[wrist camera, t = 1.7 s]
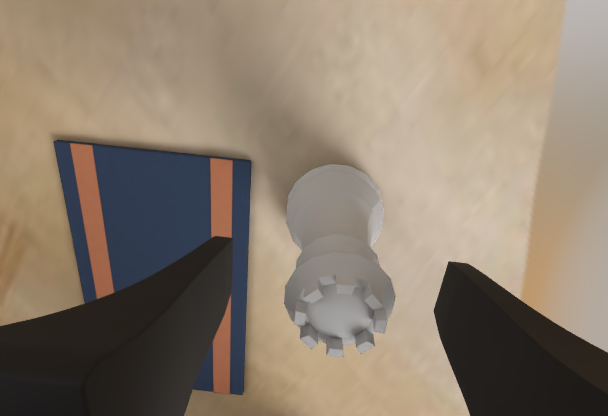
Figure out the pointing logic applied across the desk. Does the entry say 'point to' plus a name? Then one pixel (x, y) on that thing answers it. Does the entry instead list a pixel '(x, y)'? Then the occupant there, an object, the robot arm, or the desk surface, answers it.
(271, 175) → the desk surface
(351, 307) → the rook chess piece
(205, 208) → the cloth
